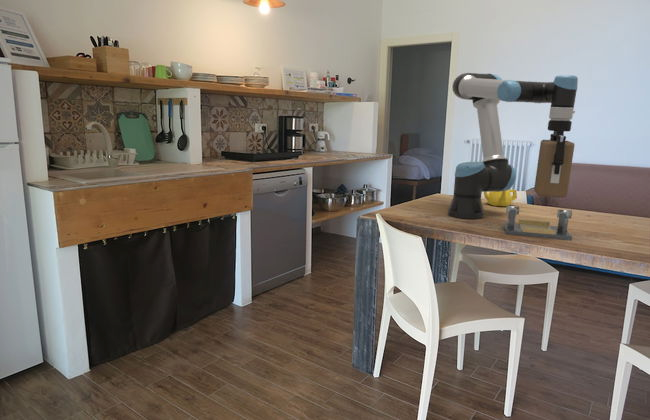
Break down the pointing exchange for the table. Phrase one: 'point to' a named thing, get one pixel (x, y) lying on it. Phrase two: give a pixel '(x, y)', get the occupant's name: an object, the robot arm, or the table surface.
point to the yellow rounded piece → (500, 197)
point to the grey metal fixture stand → (538, 225)
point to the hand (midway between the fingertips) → (551, 180)
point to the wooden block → (545, 169)
